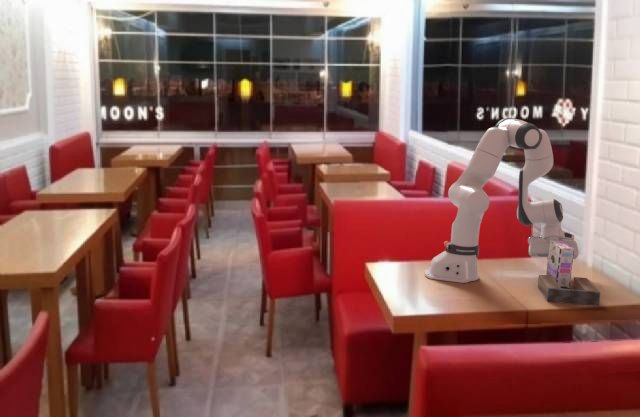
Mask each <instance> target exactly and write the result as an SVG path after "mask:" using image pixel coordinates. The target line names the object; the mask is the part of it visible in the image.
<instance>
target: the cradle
mask: <svg viewBox="0 0 640 417" xmlns="http://www.w3.org/2000/svg"><path fill="white" fill-rule="evenodd" d="M537 282H538V283H537V288H538V289H539V291H540V292H541V294H542V295H543V297H544V299H545V301H546V302H549V303H559V302H563V303H562V304H573V305H574V304H575V305H577V304H578V305H587V306H588V305H589V306H600V305H599V304H600V298H601V297H600V296H601V292H600V291H599V290H598V289H597V287H596V286H595V285H594V284H593V283H592V282H591V281H590V279H588V277H578V276H573V283H572V288H571V289H570V288H561V287H560V286H559V285H558V283H557V282H556V281H555V279H554V278H553V276H551V275H546V274H538V280H537Z"/></svg>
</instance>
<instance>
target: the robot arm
mask: <svg viewBox="0 0 640 417" xmlns="http://www.w3.org/2000/svg"><path fill="white" fill-rule="evenodd" d="M509 147H513V148H515V149H520V150H523V152H524V160H525V162H524V166H523V167H522V168H520V170H519V173H518V174H519V175H518V193H517V194H518V198H517V199H518V203H517V209H516V217H517V220H518V222H519V223H520V224H522V225H524V226H525V227H528V226H532V225H537V224H539V225H540V226H541V227H540V228H541V230H540V236H535V235H531V236H529V237H528V238H527V244H528V245H529V246H528V255H529V256H530V257H537V258H538V257H539V258H542V257H543V258H547V260H548V253H549V243H550V241H563V242H565V243H566V244H567V245H569V246H570V247H572V248H573V249H574V255H573V260H576V259H577V258H578V257H579V254H580V251H579V247H578V242H577V241H576V240H575V235H574V234H572V233H570V232H567V231H565V230H563V229H562V221H563V220H564V212H563V205H562V203H561V202H560V201H558V200H557V199H554V198H551V199H543V200H536V201H530V200H529V186H530V184H531V183H533V182H534V181H536V180H538V179H540V178H542V177H544V176H545V175H546V174H548V173H549V172H550V171H551V170H552V169H553V166H554V154H553V149H552V145H551V140H550V138H549V135H548V133H547V132H546V131H545V130H543V129H542V128H538V126H536V125H535V124H533V123H531V122H527V121H524V120H522V119H517V118H513V117H505V118H502V119H501V120H499V121H498V122H497V123H496V124H495V126H492V127H490V128H488V129H487V130H486V131H485V133H484V134H483V135H482V137H481V138H480V140H479V141H478V144H477V146H476V148H475V150H474V152H473V154H472V156H471V158H470V159H469V162H468V164H467V166H466V168H465V169H464V170H463V172H462V173H461V175H459V177H458V179H457V180H456V181H455V182H453V183H452V184H451V186H450V187H448V188H449V189H448V192H447V197H448V199H449V201H450V202H451V204H453V205H454V206H455V207H457V213H456V216H455V219H454V221H453V222H452V224H451V234H450V237H451V238H450V241H448V240H446V241H444V242H443V245H444V247H445V248H444V251H442V252H441V253H439V254H437V255H436V256H434V257H433V258H432V259H431V262H430V266H429V267H425V269H424V271H423V272H424V276H425V277H426V278H428V279H430V280H436V281H437V280H438V281H447V282H455V283H459V284H460V283H461V284H466V283H469V282H473V281H477V280H479V279H480V276H479V269H478V257H479V252H480V245H479V236H480V228H481V224H482V220H483V217H484V215H485V212H486V211H487V210H488V209H489V206H490V197H489V195H488V194H487V193H486V192H485V190H484V189H483V188H484V186H486V184H487V183H488V182H489V181H490V180H491V179H492V178H494V176H495V175H496V172H497V169H498V168H499V165H500V164H501V161H502V159H503V156H504V154H505V152H506V150H507V149H508V148H509Z"/></svg>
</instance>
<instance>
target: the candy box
mask: <svg viewBox="0 0 640 417" xmlns="http://www.w3.org/2000/svg"><path fill="white" fill-rule="evenodd" d="M573 255H574V249H573V248H572V247H570V246H569V245H567V244H566V243H565V242H563V241H550V243H549V253H548V259H547V266H546V274H545V275H551V276H553V278H554V279H555V281H556V282H557V283H558V285H559V286H560V287H561V289H570V288H571V287H570V286H571V280H572V279H571V278H572V269H573V263H574V262H573V260H574V259H573Z"/></svg>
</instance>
